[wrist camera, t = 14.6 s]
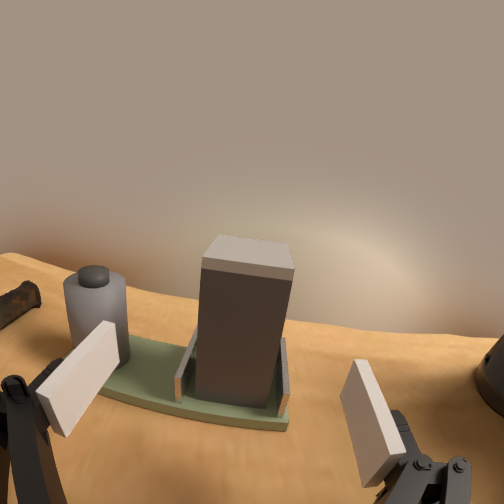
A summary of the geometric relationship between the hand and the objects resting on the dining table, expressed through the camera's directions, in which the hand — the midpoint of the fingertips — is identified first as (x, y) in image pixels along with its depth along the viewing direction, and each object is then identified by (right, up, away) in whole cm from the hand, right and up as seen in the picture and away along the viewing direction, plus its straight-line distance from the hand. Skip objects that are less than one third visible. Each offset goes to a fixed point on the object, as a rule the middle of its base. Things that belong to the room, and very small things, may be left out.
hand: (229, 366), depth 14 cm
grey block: (-1, -6, +11) cm, 12 cm away
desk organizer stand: (-7, -6, +11) cm, 14 cm away
